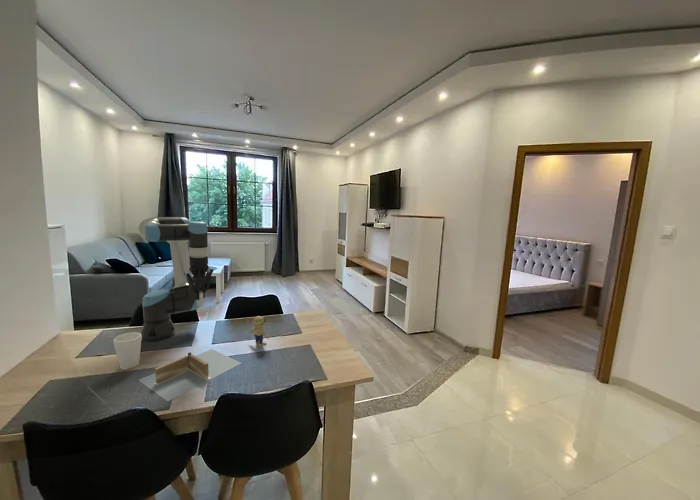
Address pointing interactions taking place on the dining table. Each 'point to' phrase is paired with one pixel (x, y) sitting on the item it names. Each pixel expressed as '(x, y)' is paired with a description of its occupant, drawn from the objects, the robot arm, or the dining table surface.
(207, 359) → the card
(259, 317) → the toy
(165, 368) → the fixed panel
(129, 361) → the foam cup
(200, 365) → the hinged panel
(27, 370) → the dining table surface
